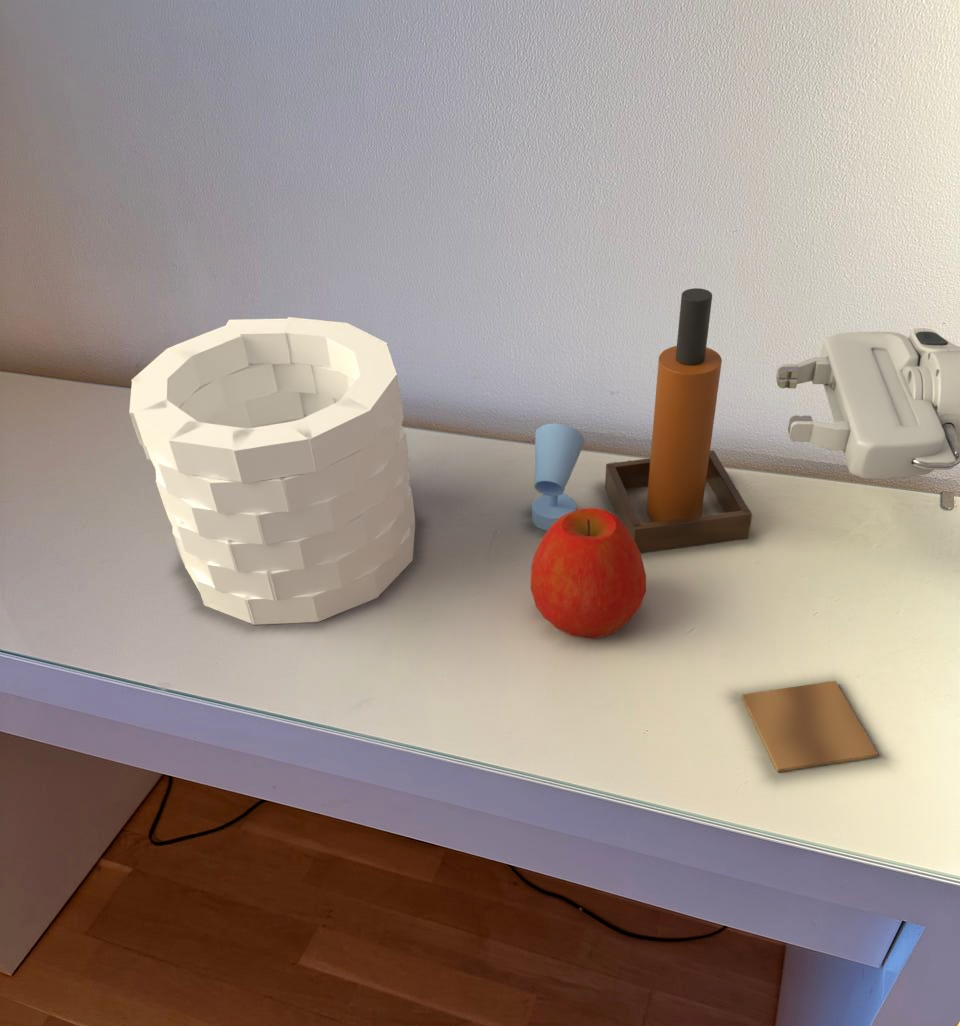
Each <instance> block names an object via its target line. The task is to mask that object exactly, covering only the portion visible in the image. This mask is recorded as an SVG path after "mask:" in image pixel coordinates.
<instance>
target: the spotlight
mask: <svg viewBox="0 0 960 1026" xmlns="http://www.w3.org/2000/svg"><path fill="white" fill-rule="evenodd" d="M584 445H585V437H584V435H583V434H582V432H580V431H579V430H577V429H576V428H574V427H572V426H571V425H566V424H563V423H547V424H543V425H541V426H539V427H538V428H537V429H536V431H535V432H534V489H535V491H537V492H538V493H539V494H541V495H539V496H537V497H536V498H534V500H533V501H532V503H531V521H532V523H533V525H534V526H535V527H537V528H538V529H539V530H542V531H546V532H547V531H548V530H549V528H550V527H551V526H552V525H553V524H554V523H555V522H556V521H557V520H558V519H559V518H560V517H561V516H563V515H566V514H568V513H570V512H573V511H575V510H577V503H576V501H575V499H574V498H573V497H571V496H570V495H568V494H566V493H564V492H565V490H566V487H567V485H568V482H569V480H570V478H571V475H572V473H573V472H574V468H575V467H576V464H577V462H578V459H579V456H580V454H581V452H582V449H583V447H584Z"/></svg>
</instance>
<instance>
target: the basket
mask: <svg viewBox="0 0 960 1026" xmlns="http://www.w3.org/2000/svg"><path fill="white" fill-rule="evenodd" d="M130 382H131V387H130V398H129V399H130V400H129V409H128V410H129V411H128V413H129V417H130V421H131V423H132V425H133V429H134V432H135V435H136V437H137V441H138V444H139V445H140V446H142V448H143V452H144V454H145V458H146V460H150V461H151V463H152V465H153V467H154V469H155V484H156V487H157V490H158V492H159V495H160V498H161V501H162V502H161V503H162V504H163V507H164V510H165V512H166V516H167V518H168V520H169V523H170V524H171V526H172V536H173V539H174V543H175V545H176V549H177V551H178V554H179V557H180V561H182V563H183V567H184V569H185V570H186V571H187V573H188V574H189V576H190V578H191V580H192V581H193V583H194V584H195V586H196V588H197V590H198V591H199V593H200V596H201V599H202V603H203V606H204V607H207V608H210V609H212V610H214V611H218V612H220V613H222V614H225V615H228V616H231V617H234V618H236V619H238V620H240V621H243V622H246V623H249V624H251V625H253V626H255V625H274V624H275V625H277V624H279V625H281V624H299V623H319V622H322V621H324V620H327V619H328V618H331V617H333V616H336V615H338V614H341V613H343V612H347V611H349V610H351V609H353V608H356V607H358V606H361V605H363V604H366V603H368V602H371V601H373V600H376V599H378V598H379V596H380V595H381V594H382V593H383V592H384V591H385V590H386V589H387V588H388V587H389V586H390V585H391V584H392V583H393V582H394V581H395V579H397V578H398V576H399V575H401V574H402V572H403V571H404V570H405V569H407V567H408V566H409V565H410V564H411V563H412V562H413V561H414V546H415V545H414V544H415V532H416V515H415V508H414V507H415V506H414V499H413V492H412V489H411V486H410V465H409V464H410V460H409V452H408V451H409V450H408V444H407V443H408V442H407V434H406V431H405V429H404V427H403V420H404V419H405V416H404V408H403V398H402V391H401V387H399V379H398V373H397V371H396V368H395V365H394V362H393V358H392V355H391V352H390V349H389V343H388V342H386V341H384V340H382V339H380V338H378V337H376V336H375V335H372V334H370V333H368V332H367V331H364V330H363V329H361V328H359V327H356V326H354V325H353V324H350V323H348V322H342V321H332V320H324V319H323V320H321V319H312V318H303V317H292V316H288V317H286V318H244V319H242V318H241V319H239V318H237V319H228V321H227V322H226V324H225V325H223V326H220V327H218V328H215V329H213V330H210V331H207V332H205V333H203V334H200V335H198V336H195V337H192V338H190V339H186V340H185V341H182V342H179V343H177V344H174V345H172V346H170V347H169V346H168V347H167V348H166V349H165V350H163V352H161V353H160V354H159V355H158V356H156V358H154V359H153V360H152V361H151V362H150V363H149V364H148V365H147V366H145V367H144V368H143V369H142V370H141V371H140V372H139V373H138V374H137V375H135V376H134V377H132V378H131V380H130Z"/></svg>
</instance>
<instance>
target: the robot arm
mask: <svg viewBox="0 0 960 1026" xmlns="http://www.w3.org/2000/svg"><path fill="white" fill-rule="evenodd" d="M775 380H776V385H777V386H778V388H780V389H797V385H799V384H805V383H808V382H812V384H813V385H823V388H824V391H825V394H826V399H827V401H828V405H829V409H830V412H831V415H832V419H833V424H831V423H828V422H823V421H819V420H814V419H813V418H812V415H792V416H791V417H790V418H789V421H788V427H787V430H788V431H787V432H788V437H789V440H790V441H791V442H793V443H794V442H795V443H798V442H799V443H810V444H812V445H815V446H818V447H821V448H823V449H826V450H829V451H836V452H837V451H838V452H840V451H841V452H842V453H843V455H844V459H845V462H846V466H847V469H848V471H849V473H850V474H851V475H853V476H855V477H858V478H861V479H864V480H865V479H866V480H881V479H882V480H883V479H884V480H885V479H886V480H887V479H901V478H902V479H903V478H912V477H919V476H925V475H927V474H930V473H932V472H934V471H935V470H936V471H937V470H938V471H939V470H940V471H942V470H943V471H945V470H946V471H947V470H952V469H953V468H954V467H956V466H958V465H959V464H960V345H959V346H958V345H956V344H954V343H952V342H950V341H949V340H948V339H945V338H944V337H943V336H942V335H940V334H939V333H938V332H937V331H935V330H933V329H931V328H926V327H925V328H921V327H920V328H913V329H911V330H910V332H909V335H908V337H907V336H906V335H904V334H902V333H899V332H893V331H857V332H856V331H855V332H840V333H836V334H833V335H831V336H828V337H827V338H825V339H824V340H823V343H822V348H821V352H820V355H819V357H818V356H814V357H812V358H809V359H806V360H804V361H803V360H802V361H800V362H798V363H782V364H779V365H778V366H777V370H776V375H775Z"/></svg>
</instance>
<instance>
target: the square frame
mask: <svg viewBox="0 0 960 1026" xmlns="http://www.w3.org/2000/svg"><path fill="white" fill-rule="evenodd" d="M650 458H651V457H649V458H641V459H633V460H626V461H618V462H617V461H616V462H610V463H609V462H608V463H606V464H605V478H604V479H605V480H604V481H605V482H604V488H605V491H606V493H607V496H608V499H609V500H610V502H611V505H612V508H613V510H614V512H615V515H616V516H617V517H618V518H619V519H620V521H621V522H622V523H623V524H624V526H625V527H626V528H627V529H628V531H629V532H630V534H631V536H632V537H633V539H634V541H635V543H636V545H637V547H638V549H639V551H640V553H641V554H644V553H651V552H652V553H653V552H660V551H668V550H673V549H681V548H689V547H695V546H703V545H710V544H711V545H712V544H718V543H725V542H733V541H741V540H748V539H749V535H750V531H751V530H750V529H751V524H752V518H753V513H752V511H751V510H750V508H749V506H748V504H747V503H746V501H745V500H744V498H743V496H742V495H741V493H740V491H739V489H738V488H737V486H736V485H735V483H734V481H733V480H732V478H731V477H730V475H729V473H728V471H727V469H726V468H725V467H724V465H723V463H722V461H721V460H720V458H719V457H718V455H717V453H716V452H715V450H713V449H712V450H711V449H710V454H709V462H708V470H707V477H706V482H707V484H708V486H709V487H710V488H711V490H712V492H713V494H714V496H715V498H716V499H717V501H718V502H719V504H720V507H721V508H722V510H723V511H724V512H720V513H713V514H705V515H701V516H697V517H689V518H682V519H674V520H667V521H659V522H652V521H651V522H645V523H641V521H640V519H639V517H638V514H637V512H636V510H635V508H634V505H633V503H632V501H631V499H630V497H629V495H628V491H627V490H631V489H638V488H645V487H646V488H647V487H648V482H649V470H650Z"/></svg>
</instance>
